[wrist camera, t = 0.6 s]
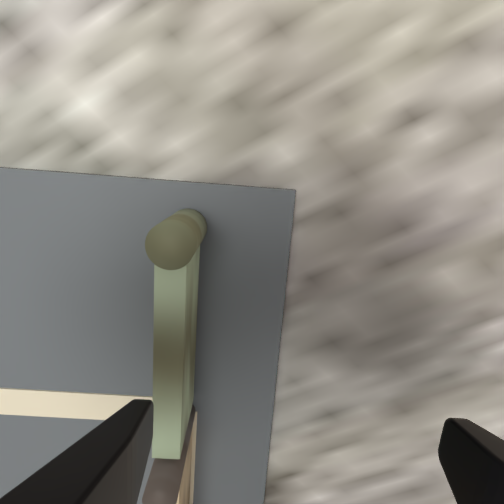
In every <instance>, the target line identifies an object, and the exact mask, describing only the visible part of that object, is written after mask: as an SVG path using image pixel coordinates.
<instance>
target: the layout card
mask: <svg viewBox="0 0 504 504" xmlns="http://www.w3.org/2000/svg"><path fill="white" fill-rule="evenodd" d="M295 193H296V190H292V189H279V188H266V187H253V186H240V185H227V184H213V183H200V182H187V181H174V180H161V179H148V178H135V177H122V176H109V175H96V174H83V173H70V172H57V171H43V170H30V169H17V168H4V167H0V498H1V497H2V496H4V495H5V494H6V493H8V492H9V491H11V490H12V489H13V488H15V487H16V486H17V485H19V484H20V483H21V482H23V481H24V480H25V479H27V478H28V477H29V476H31V475H32V474H33V473H35V472H36V471H37V470H39V469H40V468H41V467H43V466H44V465H46V464H47V463H48V462H50V461H51V460H52V459H54V458H55V457H56V456H58V455H59V454H60V453H62V452H63V451H64V450H66V449H67V448H68V447H70V446H71V445H72V444H74V443H75V442H76V441H78V440H79V439H80V438H82V437H83V436H85V435H86V434H87V433H89V432H90V431H91V430H93V429H94V428H95V427H97V426H98V425H99V424H101V423H102V422H103V421H105V420H106V419H107V418H109V417H110V416H111V415H113V414H114V413H115V412H117V411H118V410H120V409H121V408H122V407H124V406H125V405H126V404H128V403H129V402H130V401H132V400H134V399H145V400H151V401H152V402H153V327H154V263H152V261H151V260H150V259H149V257H148V256H147V253H146V250H145V240H146V236H147V234H148V232H149V231H150V230H151V229H152V228H153V227H154V226H156V225H157V224H159V223H160V222H162V221H163V220H165V219H166V218H168V217H169V216H171V215H173V214H174V213H176V212H177V211H179V210H181V209H186V208H189V209H194V210H196V211H198V212H199V213H201V214H202V215H203V217H204V218H205V220H206V223H207V233H206V235H205V237H204V239H203V241H202V242H201V244H200V260H199V283H198V306H197V329H196V352H195V375H194V398H193V405H194V407H195V410H196V412H195V417H194V422H193V431H192V453H191V476H190V499H189V504H264V494H265V484H266V474H267V465H268V455H269V445H270V436H271V426H272V416H273V407H274V397H275V387H276V378H277V368H278V358H279V348H280V339H281V329H282V319H283V310H284V300H285V290H286V281H287V271H288V261H289V251H290V242H291V232H292V222H293V213H294V203H295ZM154 459H155V458H152V444H151V449H150V453H149V457H148V461H147V465H146V469H145V473H144V477H143V481H142V485H141V489H140V493H139V497H138V501H137V504H143V503H142V497H143V494H144V490H145V487H146V484H147V481H148V478H149V475H150V471H151V468H152V465H153V462H154Z"/></svg>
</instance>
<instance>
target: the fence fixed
mask: <svg viewBox="0 0 504 504" xmlns="http://www.w3.org/2000/svg"><path fill="white" fill-rule="evenodd" d="M195 412H196V410H195V407H194V405H193V404H192V409H191V413H190V417H189V422H188V426H187V430H186V435H185V439H184V443H183V448H182V452H181V457H180V459H162V458H155V459H154V462H153V465H152V468H151V471H150V475H149V478H148V481H147V484H146V487H145V490H144V494H143V497H142V503H143V504H189V499H190V476H191V453H192V431H193V422H194V417H195Z"/></svg>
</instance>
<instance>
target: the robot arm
mask: <svg viewBox="0 0 504 504" xmlns="http://www.w3.org/2000/svg"><path fill="white" fill-rule="evenodd" d="M153 415H154V405H153V402H152V401H151V400H145V399H134V400H132V401H130V402H129V403H128V404H126V405H125V406H124V407H122V408H121V409H120V410H118V411H117V412H115V413H114V414H113V415H111V416H110V417H109V418H107V419H106V420H105V421H103V422H102V423H101V424H99V425H98V426H97V427H95V428H94V429H93V430H91V431H90V432H89V433H87V434H86V435H85V436H83V437H82V438H80V439H79V440H78V441H76V442H75V443H74V444H72V445H71V446H70V447H68V448H67V449H66V450H64V451H63V452H62V453H60V454H59V455H58V456H56V457H55V458H54V459H52V460H51V461H50V462H48V463H47V464H46V465H44V466H43V467H41V468H40V469H39V470H37V471H36V472H35V473H33V474H32V475H31V476H29V477H28V478H27V479H25V480H24V481H23V482H21V483H20V484H19V485H17V486H16V487H15V488H13V489H12V490H11V491H9V492H8V493H6V494H5V495H4V496H2V497H1V498H0V504H137V501H138V497H139V493H140V489H141V485H142V481H143V477H144V473H145V469H146V465H147V461H148V457H149V453H150V449H151V444H152V439H153ZM438 455H439V460H440V463H441V465H442V468H443V470H444V473H445V475H446V477H447V480H448V482H449V485H450V487H451V490H452V492H453V495H454V497H455V499H456V502H457V504H504V440H502V439H500V438H499V437H497V436H495V435H494V434H492V433H490V432H488V431H487V430H485V429H483V428H482V427H480V426H478V425H476V424H475V423H473V422H471V421H470V420H468V419H462V418H448V419H447V420H446V421H445V423H444V427H443V431H442V435H441V439H440V444H439V448H438Z"/></svg>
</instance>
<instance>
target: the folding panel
mask: <svg viewBox="0 0 504 504" xmlns="http://www.w3.org/2000/svg"><path fill="white" fill-rule="evenodd" d="M206 233H207V223H206V220H205V218H204V217H203V215H202V214H201V213H199V212H198V211H196V210H194V209H189V208H186V209H181V210H179V211H177V212H176V213H174V214H173V215H171V216H169V217H168V218H166V219H165V220H163V221H162V222H160V223H159V224H157V225H156V226H154V227H153V228H152V229H151V230H150V231H149V232H148V234H147V236H146V240H145V250H146V253H147V256H148V257H149V259H150V260H151V261H152V263H154V327H153V405H154V415H153V439H152V458H162V459H180V457H181V452H182V448H183V443H184V439H185V435H186V430H187V426H188V422H189V417H190V413H191V409H192V404H193V398H194V375H195V352H196V329H197V306H198V283H199V260H200V244H201V242H202V241H203V239H204V237H205V235H206Z"/></svg>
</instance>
